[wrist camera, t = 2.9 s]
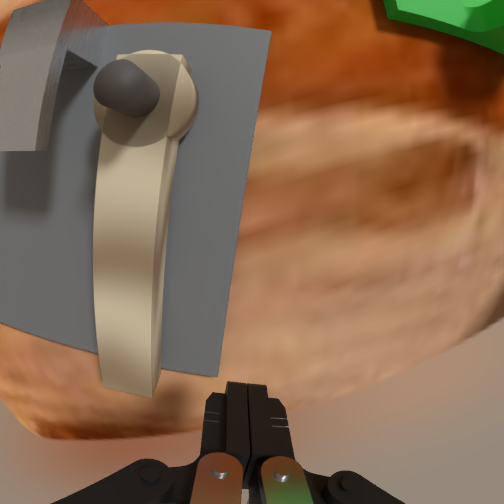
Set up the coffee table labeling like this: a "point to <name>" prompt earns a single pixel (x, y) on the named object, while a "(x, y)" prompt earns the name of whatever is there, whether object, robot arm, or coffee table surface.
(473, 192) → the coffee table surface
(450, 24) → the mechanical part
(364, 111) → the coffee table surface
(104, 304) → the latch bar
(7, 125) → the keeper
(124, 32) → the base plate
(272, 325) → the coffee table surface
